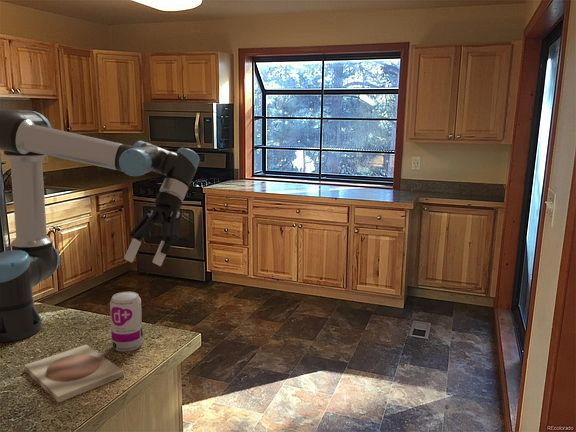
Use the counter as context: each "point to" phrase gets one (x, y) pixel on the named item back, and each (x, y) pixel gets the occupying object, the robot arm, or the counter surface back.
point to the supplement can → (126, 321)
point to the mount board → (73, 372)
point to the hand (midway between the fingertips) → (141, 262)
